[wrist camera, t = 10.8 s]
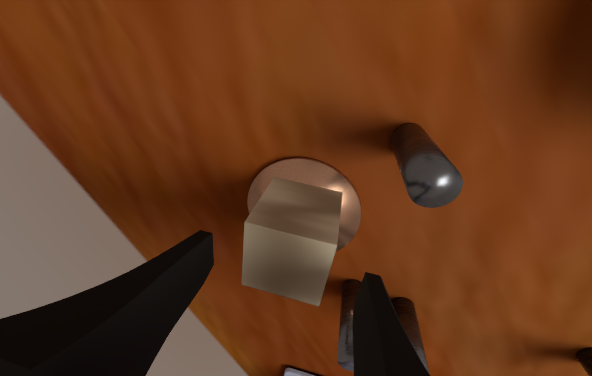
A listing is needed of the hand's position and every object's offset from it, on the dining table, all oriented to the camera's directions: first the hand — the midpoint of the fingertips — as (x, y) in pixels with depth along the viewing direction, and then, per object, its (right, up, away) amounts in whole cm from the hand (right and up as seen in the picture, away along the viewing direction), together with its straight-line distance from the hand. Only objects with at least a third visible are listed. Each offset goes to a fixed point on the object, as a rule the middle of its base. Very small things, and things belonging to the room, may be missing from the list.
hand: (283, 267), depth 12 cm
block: (+1, +2, +4) cm, 4 cm away
